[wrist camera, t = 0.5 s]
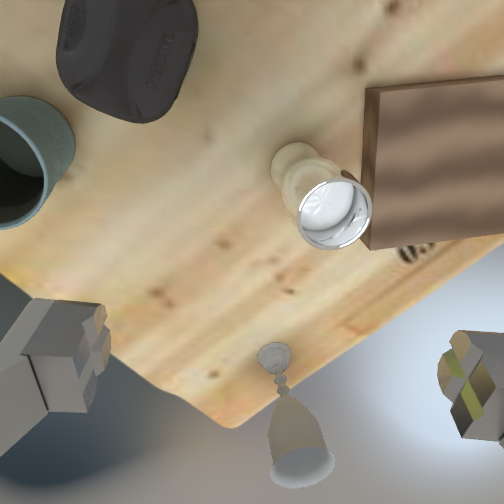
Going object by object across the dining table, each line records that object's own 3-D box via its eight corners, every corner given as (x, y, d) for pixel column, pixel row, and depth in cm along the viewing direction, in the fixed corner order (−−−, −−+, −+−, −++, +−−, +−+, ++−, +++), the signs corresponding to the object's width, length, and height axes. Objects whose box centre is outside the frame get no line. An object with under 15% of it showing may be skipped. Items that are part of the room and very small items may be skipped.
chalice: (259, 379, 62) (282, 496, 46) (243, 349, 58) (260, 462, 43) (304, 362, 61) (342, 473, 45) (289, 330, 58) (325, 437, 42)
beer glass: (331, 143, 46) (386, 182, 33) (316, 200, 49) (360, 256, 36) (273, 133, 45) (305, 169, 32) (261, 192, 48) (286, 248, 35)
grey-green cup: (82, 98, 41) (43, 116, 30) (84, 192, 45) (50, 237, 35) (-28, 82, 39) (-111, 95, 29) (-15, 182, 44) (-82, 225, 33)
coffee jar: (126, -30, 37) (70, -92, 20) (207, 11, 39) (217, -14, 23) (98, 76, 40) (32, 97, 24) (174, 108, 43) (162, 147, 26)
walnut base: (365, 88, 44) (380, 92, 41) (520, 73, 45) (547, 75, 42) (358, 236, 52) (369, 250, 49) (488, 220, 54) (509, 232, 50)
